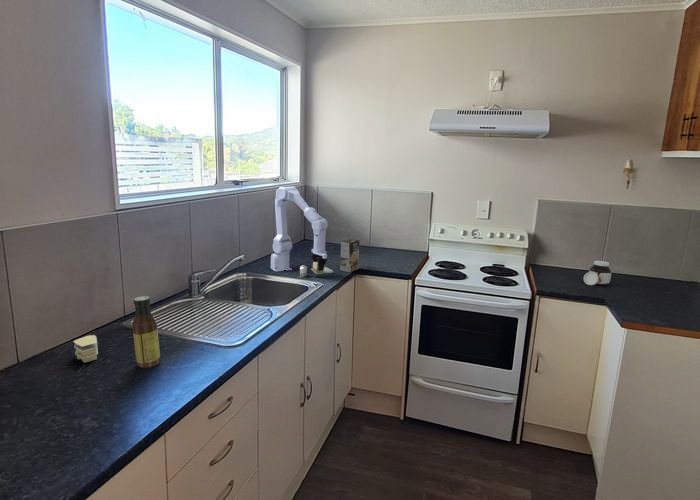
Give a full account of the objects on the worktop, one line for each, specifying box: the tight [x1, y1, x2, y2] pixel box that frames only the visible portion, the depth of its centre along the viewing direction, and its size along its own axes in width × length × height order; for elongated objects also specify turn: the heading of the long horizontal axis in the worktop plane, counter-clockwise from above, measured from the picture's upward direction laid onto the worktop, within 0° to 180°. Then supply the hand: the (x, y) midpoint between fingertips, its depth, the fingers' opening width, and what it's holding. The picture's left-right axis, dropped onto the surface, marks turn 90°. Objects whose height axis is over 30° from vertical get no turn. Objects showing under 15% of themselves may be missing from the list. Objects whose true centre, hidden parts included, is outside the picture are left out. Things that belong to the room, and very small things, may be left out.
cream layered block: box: [73, 334, 99, 363], centre depth 127 cm, size 10×9×6 cm
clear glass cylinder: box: [299, 265, 308, 278], centre depth 218 cm, size 4×4×5 cm
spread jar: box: [583, 260, 612, 287], centre depth 223 cm, size 12×11×12 cm
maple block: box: [312, 261, 326, 275], centre depth 218 cm, size 4×4×5 cm
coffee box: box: [339, 238, 360, 273], centre depth 233 cm, size 9×6×16 cm
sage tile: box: [310, 266, 335, 275], centre depth 230 cm, size 9×9×1 cm
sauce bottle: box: [132, 295, 161, 369], centre depth 122 cm, size 6×6×20 cm
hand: (318, 269), depth 218 cm, fingers closed on maple block, 4 cm apart
